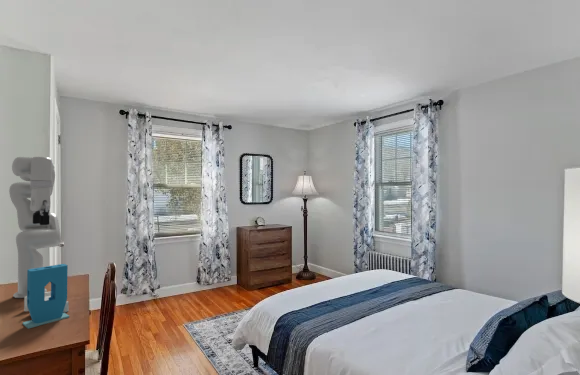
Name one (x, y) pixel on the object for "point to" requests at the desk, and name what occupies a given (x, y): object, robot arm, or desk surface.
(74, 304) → the desk surface
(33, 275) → the block
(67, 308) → the rack
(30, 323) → the mat
